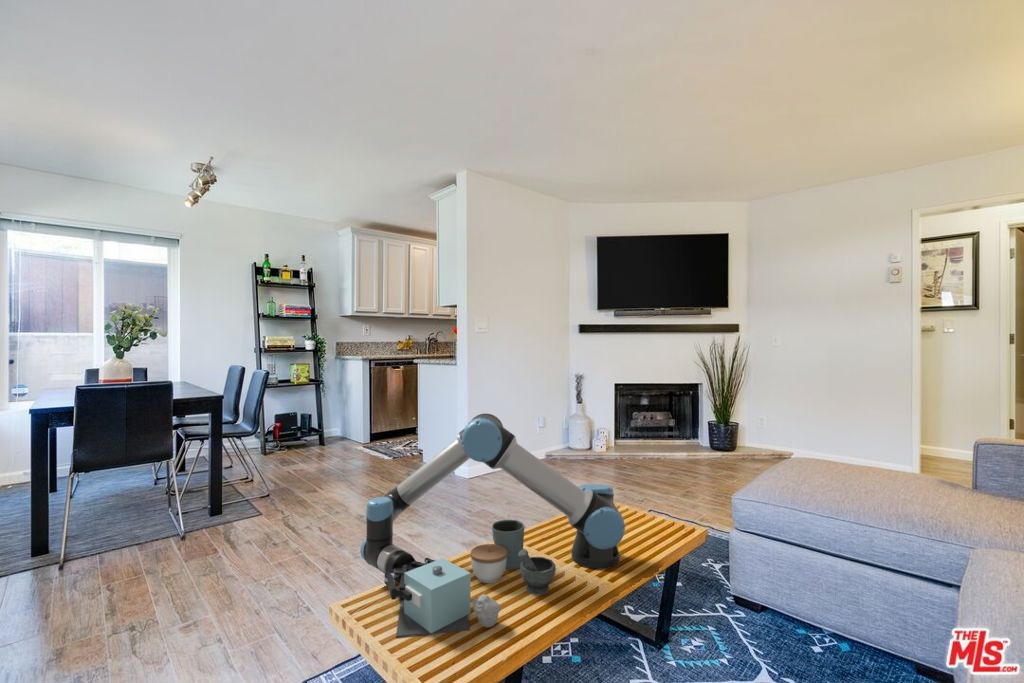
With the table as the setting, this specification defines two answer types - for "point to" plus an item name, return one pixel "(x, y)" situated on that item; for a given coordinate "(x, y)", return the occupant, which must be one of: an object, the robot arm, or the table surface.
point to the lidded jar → (488, 562)
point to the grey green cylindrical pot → (509, 540)
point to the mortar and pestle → (536, 572)
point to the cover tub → (439, 594)
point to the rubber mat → (413, 628)
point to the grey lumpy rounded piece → (486, 610)
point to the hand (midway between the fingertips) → (442, 591)
